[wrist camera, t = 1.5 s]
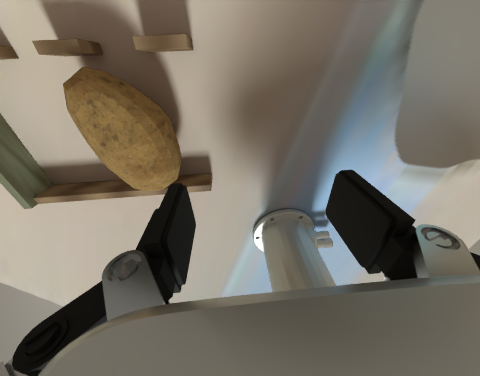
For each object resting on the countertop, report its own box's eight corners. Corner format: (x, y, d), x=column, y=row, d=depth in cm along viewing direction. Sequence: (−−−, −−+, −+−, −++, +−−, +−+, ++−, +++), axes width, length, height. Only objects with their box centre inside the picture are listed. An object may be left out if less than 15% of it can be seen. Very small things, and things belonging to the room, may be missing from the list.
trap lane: (191, 38, 20) (184, 32, 16) (212, 178, 30) (210, 194, 26) (-58, 50, 19) (-126, 46, 15) (50, 190, 29) (24, 208, 25)
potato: (141, 49, 20) (100, 41, 14) (202, 156, 28) (195, 185, 21) (72, 87, 22) (5, 96, 15) (148, 179, 29) (125, 212, 23)
